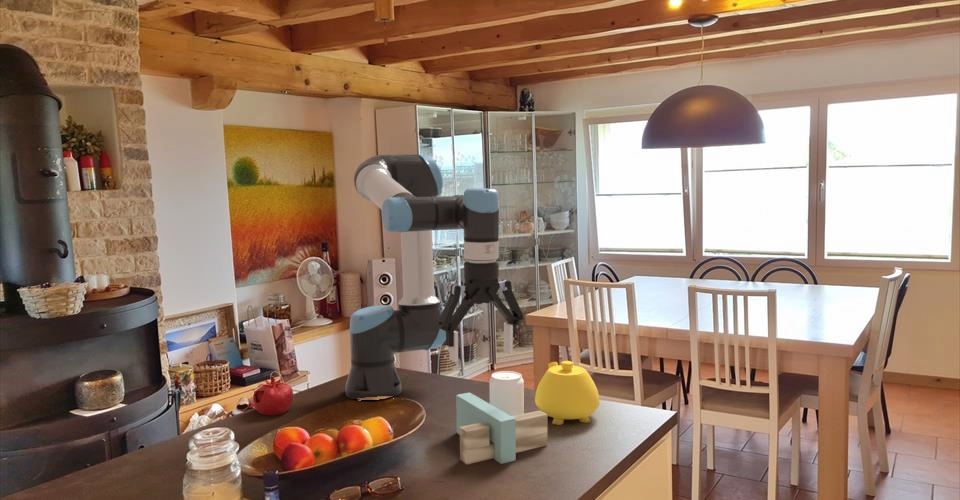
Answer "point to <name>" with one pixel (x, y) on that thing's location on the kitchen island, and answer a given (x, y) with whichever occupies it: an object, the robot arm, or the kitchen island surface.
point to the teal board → (488, 424)
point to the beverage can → (507, 392)
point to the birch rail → (481, 448)
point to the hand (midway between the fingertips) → (481, 356)
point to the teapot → (567, 393)
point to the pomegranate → (273, 397)
